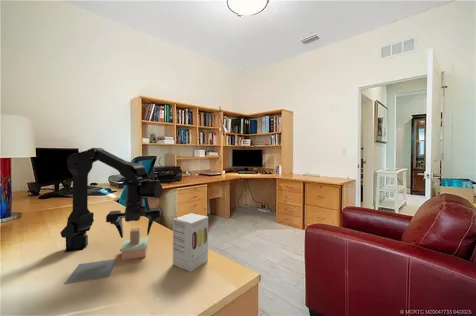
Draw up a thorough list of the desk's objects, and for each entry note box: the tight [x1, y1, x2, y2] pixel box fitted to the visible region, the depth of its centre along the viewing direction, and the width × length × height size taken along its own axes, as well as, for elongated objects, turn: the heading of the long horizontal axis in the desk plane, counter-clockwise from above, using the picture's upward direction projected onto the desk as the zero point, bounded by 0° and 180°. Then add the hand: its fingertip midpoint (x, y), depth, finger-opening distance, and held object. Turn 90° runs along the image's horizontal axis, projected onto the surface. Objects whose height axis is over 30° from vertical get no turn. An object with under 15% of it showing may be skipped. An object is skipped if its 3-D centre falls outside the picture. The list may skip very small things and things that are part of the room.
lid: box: [119, 227, 149, 253], centre depth 83 cm, size 9×9×6 cm
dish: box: [121, 247, 148, 261], centre depth 83 cm, size 8×8×4 cm
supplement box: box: [172, 212, 209, 273], centre depth 78 cm, size 10×9×17 cm
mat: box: [63, 258, 118, 285], centre depth 72 cm, size 12×12×1 cm
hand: (135, 236), depth 83 cm, fingers open, 9 cm apart
